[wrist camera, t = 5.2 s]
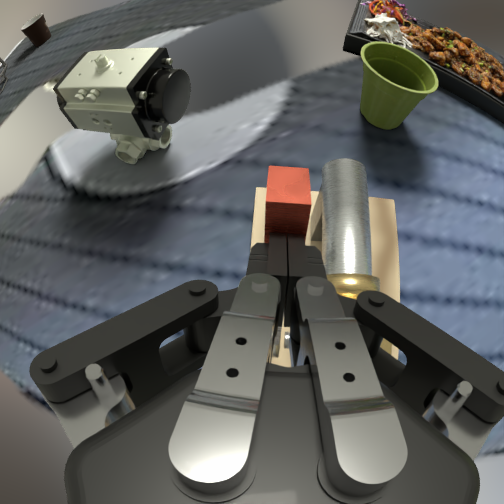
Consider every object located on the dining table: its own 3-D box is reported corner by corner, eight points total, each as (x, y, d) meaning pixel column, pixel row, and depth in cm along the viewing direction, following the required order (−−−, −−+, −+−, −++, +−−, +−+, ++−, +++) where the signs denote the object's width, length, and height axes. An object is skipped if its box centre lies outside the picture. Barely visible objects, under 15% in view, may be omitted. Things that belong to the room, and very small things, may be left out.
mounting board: (389, 205, 37) (393, 199, 36) (383, 435, 29) (388, 439, 27) (256, 193, 39) (256, 187, 37) (235, 435, 30) (233, 439, 29)
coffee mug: (49, 41, 59) (37, 20, 50) (29, 52, 59) (17, 33, 49) (59, 25, 62) (49, 6, 53) (40, 36, 62) (29, 17, 53)
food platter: (342, 50, 48) (350, 11, 38) (356, 9, 54) (362, -21, 45) (521, 138, 42) (544, 113, 32) (503, 78, 48) (518, 55, 38)
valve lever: (282, 331, 26) (308, 166, 13) (280, 363, 24) (311, 207, 11) (262, 330, 26) (269, 163, 14) (259, 361, 24) (265, 204, 12)
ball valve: (88, 158, 42) (31, 88, 25) (113, 118, 44) (69, 45, 27) (182, 179, 40) (138, 86, 23) (206, 132, 42) (180, 36, 25)
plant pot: (422, 144, 40) (451, 99, 29) (355, 140, 41) (375, 86, 30) (400, 93, 44) (419, 48, 33) (339, 87, 44) (351, 36, 33)
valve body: (351, 209, 36) (382, 157, 25) (342, 427, 28) (376, 463, 17) (287, 203, 36) (295, 147, 25) (271, 426, 29) (274, 467, 18)
